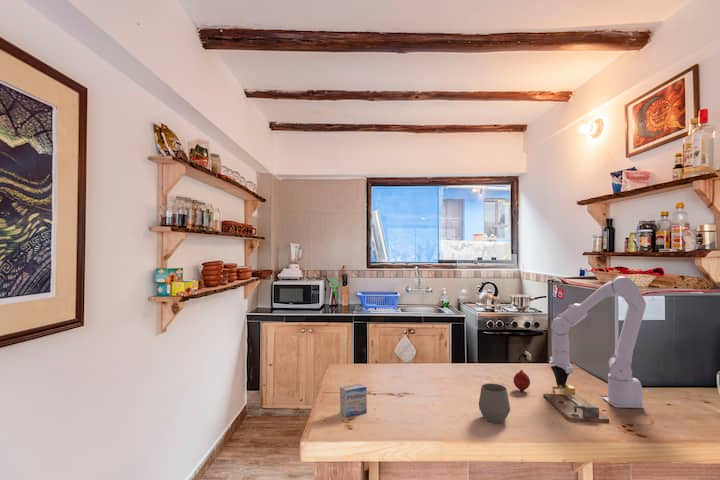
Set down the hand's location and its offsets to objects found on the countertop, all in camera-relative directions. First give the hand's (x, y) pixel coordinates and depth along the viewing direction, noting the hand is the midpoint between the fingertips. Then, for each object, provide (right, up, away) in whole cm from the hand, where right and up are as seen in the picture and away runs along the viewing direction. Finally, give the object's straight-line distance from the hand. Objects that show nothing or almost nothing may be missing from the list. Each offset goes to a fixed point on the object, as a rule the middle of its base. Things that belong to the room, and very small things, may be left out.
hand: (561, 386), depth 144 cm
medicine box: (-77, -3, -16) cm, 78 cm away
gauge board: (-2, -2, -13) cm, 13 cm away
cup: (-32, -3, -21) cm, 38 cm away
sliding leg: (-2, -1, -5) cm, 5 cm away
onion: (-13, -3, +3) cm, 14 cm away
